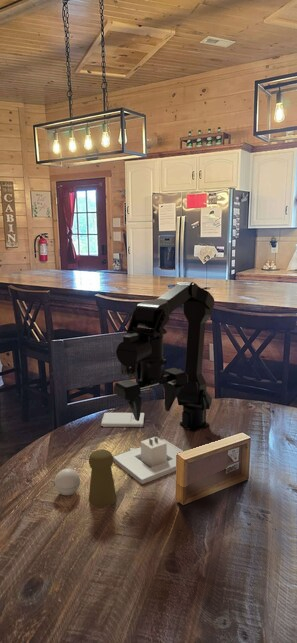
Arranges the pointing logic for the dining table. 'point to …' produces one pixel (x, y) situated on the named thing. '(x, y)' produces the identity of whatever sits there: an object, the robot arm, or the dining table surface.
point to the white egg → (67, 481)
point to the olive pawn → (101, 479)
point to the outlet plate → (143, 471)
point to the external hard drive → (121, 420)
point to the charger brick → (153, 451)
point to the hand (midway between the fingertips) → (152, 415)
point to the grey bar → (126, 451)
